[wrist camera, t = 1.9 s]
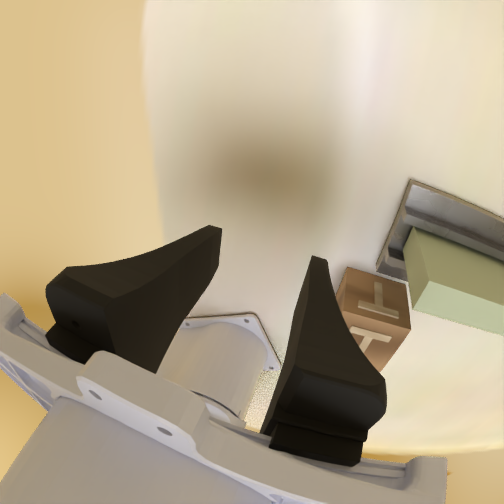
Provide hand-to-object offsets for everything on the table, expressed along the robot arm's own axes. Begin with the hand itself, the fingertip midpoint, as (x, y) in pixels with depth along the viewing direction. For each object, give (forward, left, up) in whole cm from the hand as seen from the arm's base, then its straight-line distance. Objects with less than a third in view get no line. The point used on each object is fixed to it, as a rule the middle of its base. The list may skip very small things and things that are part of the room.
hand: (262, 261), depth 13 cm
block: (+2, -11, -10) cm, 14 cm away
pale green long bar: (+12, -8, -8) cm, 17 cm away
